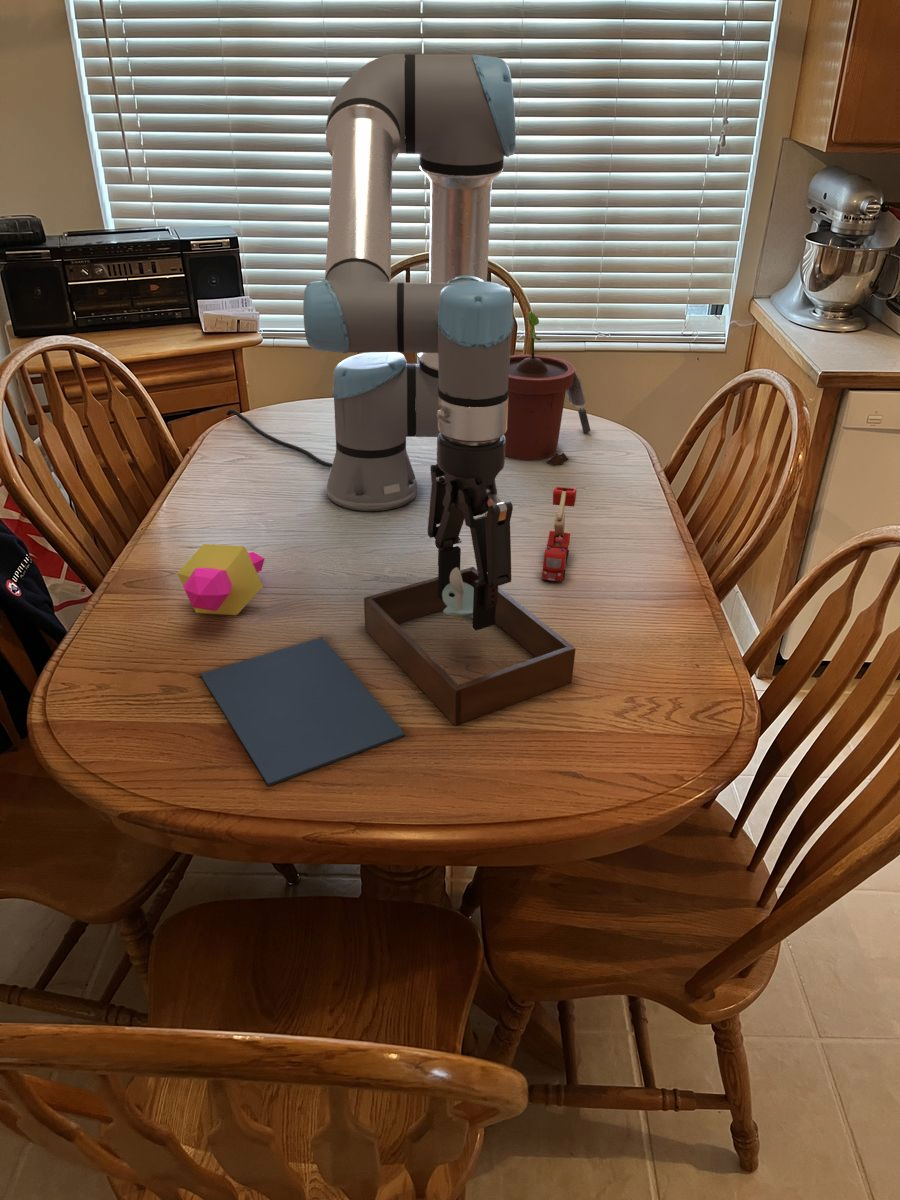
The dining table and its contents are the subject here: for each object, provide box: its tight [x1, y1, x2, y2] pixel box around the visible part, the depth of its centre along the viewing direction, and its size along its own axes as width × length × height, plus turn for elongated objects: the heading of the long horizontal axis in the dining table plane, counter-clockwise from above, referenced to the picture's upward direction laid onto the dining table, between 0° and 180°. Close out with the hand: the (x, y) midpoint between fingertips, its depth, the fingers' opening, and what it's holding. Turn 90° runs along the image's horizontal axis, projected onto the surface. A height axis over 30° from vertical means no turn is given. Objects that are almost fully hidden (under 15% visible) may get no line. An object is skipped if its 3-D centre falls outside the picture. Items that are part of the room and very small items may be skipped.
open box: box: [363, 566, 576, 726], centre depth 112 cm, size 23×17×5 cm
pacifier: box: [442, 567, 474, 625], centre depth 108 cm, size 7×6×6 cm
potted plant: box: [504, 310, 591, 466], centre depth 167 cm, size 18×22×25 cm
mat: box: [199, 637, 406, 787], centre depth 104 cm, size 22×16×1 cm
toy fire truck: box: [541, 486, 577, 582], centre depth 132 cm, size 3×14×10 cm, turn 168°
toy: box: [177, 543, 265, 616], centre depth 120 cm, size 10×18×10 cm, turn 175°
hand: (465, 609), depth 110 cm, fingers closed on pacifier, 7 cm apart
